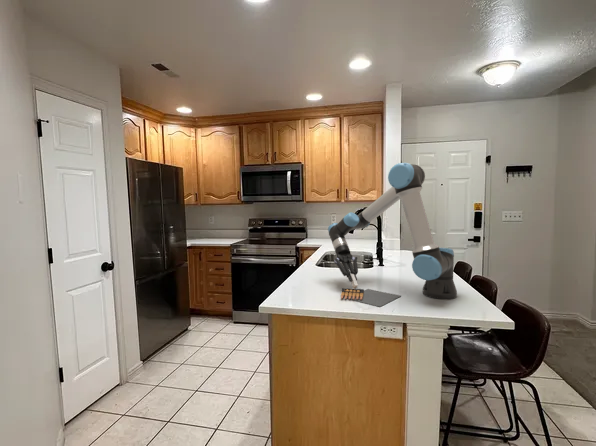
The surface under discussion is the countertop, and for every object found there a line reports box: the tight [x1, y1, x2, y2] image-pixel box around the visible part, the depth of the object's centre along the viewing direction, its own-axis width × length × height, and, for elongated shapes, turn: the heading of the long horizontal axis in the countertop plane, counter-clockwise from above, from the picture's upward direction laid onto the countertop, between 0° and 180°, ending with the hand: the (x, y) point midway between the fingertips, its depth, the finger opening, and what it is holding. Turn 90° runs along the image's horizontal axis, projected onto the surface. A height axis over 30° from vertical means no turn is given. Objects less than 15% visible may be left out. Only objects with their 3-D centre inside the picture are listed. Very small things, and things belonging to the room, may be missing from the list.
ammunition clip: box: [340, 287, 365, 301], centre depth 149 cm, size 11×2×12 cm
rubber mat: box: [346, 288, 402, 308], centre depth 148 cm, size 18×20×1 cm
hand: (355, 286), depth 152 cm, fingers closed
